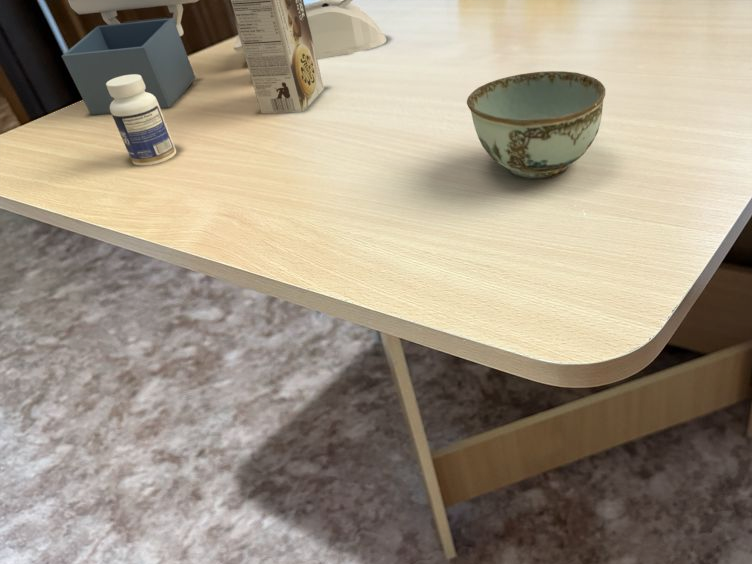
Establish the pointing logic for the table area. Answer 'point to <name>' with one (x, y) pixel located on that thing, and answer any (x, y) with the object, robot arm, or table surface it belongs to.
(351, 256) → the table surface
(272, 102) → the cookie box
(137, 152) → the pill bottle
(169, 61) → the drawer
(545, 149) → the bowl
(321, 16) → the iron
